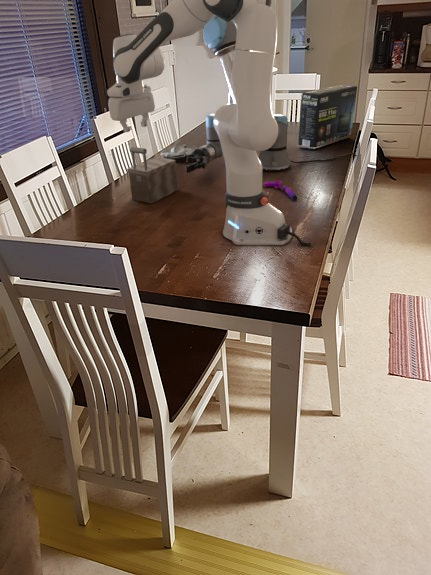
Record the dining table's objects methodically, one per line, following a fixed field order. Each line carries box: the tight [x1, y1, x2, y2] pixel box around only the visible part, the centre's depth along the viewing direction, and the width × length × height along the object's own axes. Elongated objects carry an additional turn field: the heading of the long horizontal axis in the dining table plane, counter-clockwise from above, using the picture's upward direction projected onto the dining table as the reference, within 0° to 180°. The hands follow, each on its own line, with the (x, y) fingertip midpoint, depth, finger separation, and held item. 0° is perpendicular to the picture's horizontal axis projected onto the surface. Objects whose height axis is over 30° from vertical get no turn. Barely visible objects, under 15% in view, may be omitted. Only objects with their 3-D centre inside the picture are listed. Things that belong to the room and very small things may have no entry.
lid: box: [126, 146, 177, 175], centre depth 176 cm, size 18×10×9 cm, turn 147°
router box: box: [297, 84, 358, 151], centre depth 238 cm, size 36×11×27 cm, turn 134°
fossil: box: [160, 142, 197, 161], centre depth 229 cm, size 18×11×15 cm
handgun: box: [262, 180, 298, 201], centre depth 180 cm, size 21×8×2 cm, turn 11°
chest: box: [128, 163, 179, 204], centre depth 182 cm, size 17×10×11 cm, turn 147°
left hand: (135, 129), depth 166 cm, fingers open, 8 cm apart
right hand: (174, 167), depth 192 cm, fingers open, 13 cm apart
